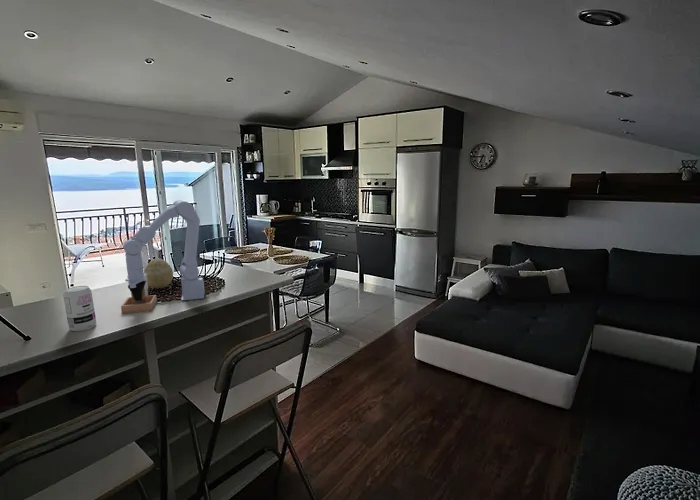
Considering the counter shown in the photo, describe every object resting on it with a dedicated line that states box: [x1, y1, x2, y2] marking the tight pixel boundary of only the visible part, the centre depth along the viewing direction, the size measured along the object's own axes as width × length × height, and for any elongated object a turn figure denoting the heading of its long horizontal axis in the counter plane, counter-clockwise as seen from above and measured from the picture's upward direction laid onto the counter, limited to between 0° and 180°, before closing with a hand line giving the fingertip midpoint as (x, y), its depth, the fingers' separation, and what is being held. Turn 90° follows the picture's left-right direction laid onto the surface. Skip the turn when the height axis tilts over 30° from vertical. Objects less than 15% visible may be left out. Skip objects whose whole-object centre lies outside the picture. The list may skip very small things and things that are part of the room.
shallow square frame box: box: [120, 294, 158, 314], centre depth 151 cm, size 11×11×3 cm
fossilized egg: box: [143, 257, 174, 290], centre depth 176 cm, size 13×13×15 cm
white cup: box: [126, 273, 149, 297], centre depth 165 cm, size 8×8×10 cm
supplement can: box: [62, 285, 97, 332], centre depth 131 cm, size 8×8×15 cm
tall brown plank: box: [130, 289, 146, 303], centre depth 151 cm, size 4×2×7 cm, turn 109°
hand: (139, 299), depth 151 cm, fingers closed on tall brown plank, 2 cm apart
